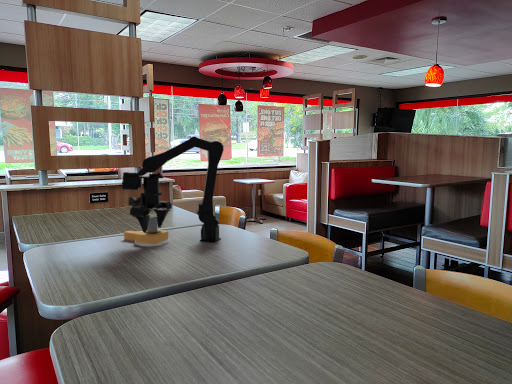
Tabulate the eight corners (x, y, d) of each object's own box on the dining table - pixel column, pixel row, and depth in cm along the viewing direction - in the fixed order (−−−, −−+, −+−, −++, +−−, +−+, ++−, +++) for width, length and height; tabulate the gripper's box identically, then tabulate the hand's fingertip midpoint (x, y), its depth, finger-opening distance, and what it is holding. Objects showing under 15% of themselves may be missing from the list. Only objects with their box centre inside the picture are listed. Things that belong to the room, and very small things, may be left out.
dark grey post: (157, 239, 145) (156, 217, 144) (153, 241, 143) (153, 218, 142) (151, 238, 146) (150, 216, 145) (147, 240, 144) (146, 217, 143)
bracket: (176, 239, 149) (175, 230, 148) (156, 248, 137) (156, 238, 136) (137, 235, 155) (137, 226, 155) (115, 242, 143) (114, 232, 143)
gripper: (149, 186, 154) (149, 223, 156) (117, 191, 136) (118, 233, 138) (172, 187, 150) (172, 225, 152) (142, 193, 132) (143, 236, 134)
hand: (152, 229), depth 144 cm, fingers open, 9 cm apart
